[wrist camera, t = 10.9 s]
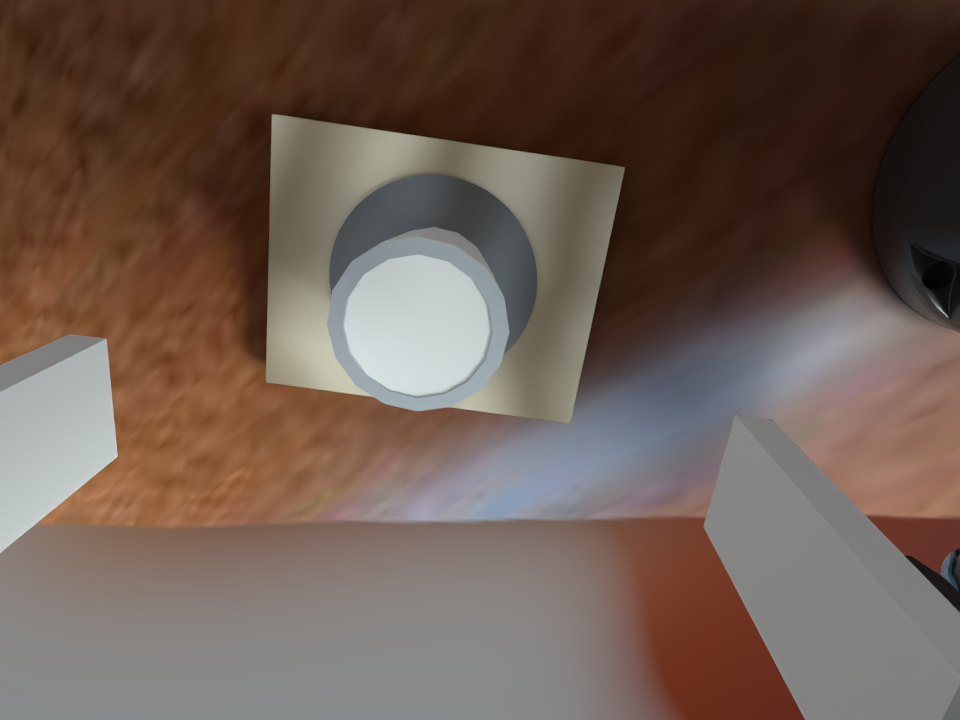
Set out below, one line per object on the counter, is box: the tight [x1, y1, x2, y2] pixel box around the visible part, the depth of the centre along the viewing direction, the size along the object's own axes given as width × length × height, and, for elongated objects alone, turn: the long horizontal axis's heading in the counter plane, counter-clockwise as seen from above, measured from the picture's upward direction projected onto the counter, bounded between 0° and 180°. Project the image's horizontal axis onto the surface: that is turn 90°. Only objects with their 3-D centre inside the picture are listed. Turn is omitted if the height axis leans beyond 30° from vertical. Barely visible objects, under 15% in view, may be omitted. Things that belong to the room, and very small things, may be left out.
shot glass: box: [327, 227, 509, 411], centre depth 26 cm, size 7×7×7 cm
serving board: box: [266, 114, 625, 423], centre depth 30 cm, size 16×13×2 cm
